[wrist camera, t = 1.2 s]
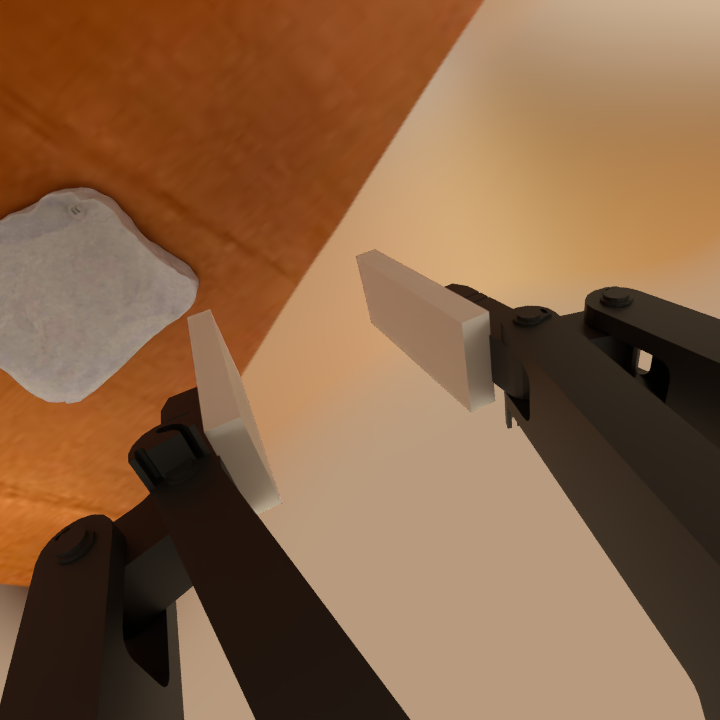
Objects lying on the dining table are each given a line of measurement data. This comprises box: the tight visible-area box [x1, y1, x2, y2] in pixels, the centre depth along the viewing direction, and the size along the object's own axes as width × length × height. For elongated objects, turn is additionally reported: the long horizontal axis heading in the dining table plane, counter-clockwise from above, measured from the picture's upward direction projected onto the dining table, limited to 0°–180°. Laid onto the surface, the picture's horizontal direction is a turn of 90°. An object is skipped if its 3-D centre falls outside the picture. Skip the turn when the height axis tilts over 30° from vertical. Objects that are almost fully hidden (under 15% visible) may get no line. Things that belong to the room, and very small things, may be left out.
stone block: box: [0, 187, 199, 404], centre depth 26 cm, size 12×5×10 cm
